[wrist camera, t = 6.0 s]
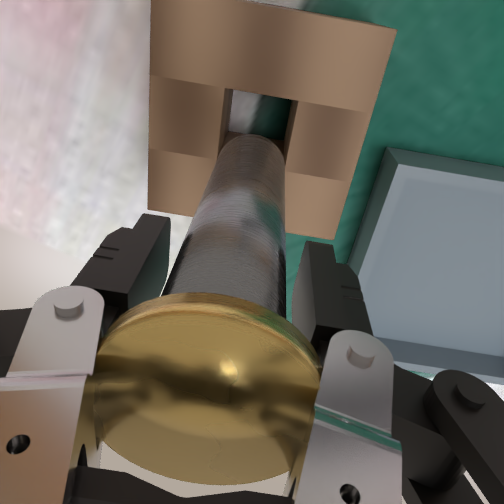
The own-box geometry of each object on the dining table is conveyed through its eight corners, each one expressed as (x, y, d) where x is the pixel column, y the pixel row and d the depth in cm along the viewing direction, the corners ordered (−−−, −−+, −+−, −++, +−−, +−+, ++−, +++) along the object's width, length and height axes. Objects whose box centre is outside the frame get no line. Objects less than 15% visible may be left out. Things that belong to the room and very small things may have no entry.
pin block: (373, 23, 25) (397, 29, 20) (325, 200, 31) (333, 240, 26) (178, -12, 24) (151, -15, 19) (169, 174, 31) (147, 209, 26)
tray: (626, 188, 29) (665, 209, 26) (507, 358, 39) (526, 388, 36) (386, 146, 29) (398, 164, 26) (325, 329, 38) (328, 357, 35)
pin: (311, 127, 17) (359, 349, 6) (289, 219, 19) (297, 498, 8) (206, 108, 17) (69, 303, 6) (197, 204, 19) (88, 466, 8)
